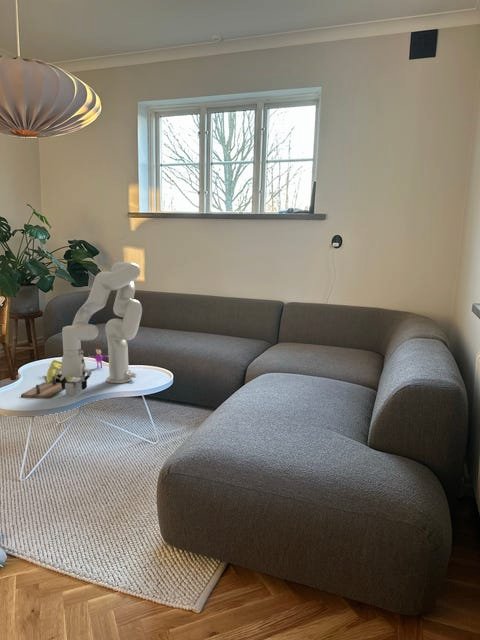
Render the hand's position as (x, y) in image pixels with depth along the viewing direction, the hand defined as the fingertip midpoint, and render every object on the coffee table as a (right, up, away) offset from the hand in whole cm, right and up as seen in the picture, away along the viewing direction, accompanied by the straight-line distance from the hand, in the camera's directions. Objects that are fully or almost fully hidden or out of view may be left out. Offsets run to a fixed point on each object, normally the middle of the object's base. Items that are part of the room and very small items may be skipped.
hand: (74, 388), depth 198 cm
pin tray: (-14, -2, +2) cm, 14 cm away
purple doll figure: (-2, +5, +42) cm, 42 cm away
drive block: (0, -2, +1) cm, 2 cm away
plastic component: (-16, +1, +23) cm, 28 cm away
